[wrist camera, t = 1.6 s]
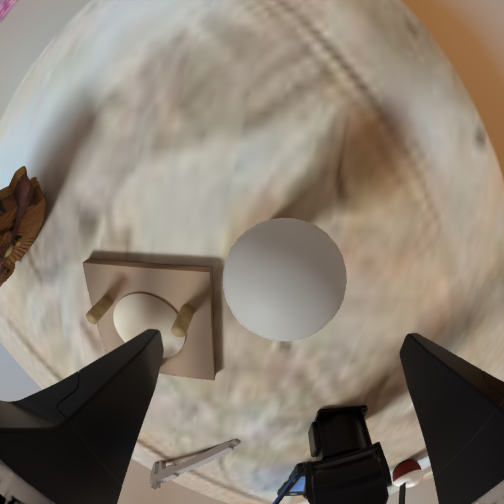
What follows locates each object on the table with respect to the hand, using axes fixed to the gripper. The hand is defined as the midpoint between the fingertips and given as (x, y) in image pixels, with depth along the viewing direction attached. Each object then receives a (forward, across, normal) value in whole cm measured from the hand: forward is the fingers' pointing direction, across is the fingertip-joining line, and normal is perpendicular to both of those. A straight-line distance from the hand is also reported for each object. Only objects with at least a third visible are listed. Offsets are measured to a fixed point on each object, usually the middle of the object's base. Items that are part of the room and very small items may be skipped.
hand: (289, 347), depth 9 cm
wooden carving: (+13, +25, 0) cm, 28 cm away
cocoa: (+13, -31, +46) cm, 57 cm away
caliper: (+13, +10, +36) cm, 39 cm away
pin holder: (+13, +11, +9) cm, 19 cm away
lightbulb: (+13, 0, 0) cm, 13 cm away
